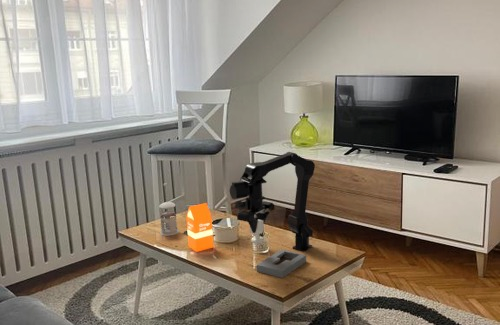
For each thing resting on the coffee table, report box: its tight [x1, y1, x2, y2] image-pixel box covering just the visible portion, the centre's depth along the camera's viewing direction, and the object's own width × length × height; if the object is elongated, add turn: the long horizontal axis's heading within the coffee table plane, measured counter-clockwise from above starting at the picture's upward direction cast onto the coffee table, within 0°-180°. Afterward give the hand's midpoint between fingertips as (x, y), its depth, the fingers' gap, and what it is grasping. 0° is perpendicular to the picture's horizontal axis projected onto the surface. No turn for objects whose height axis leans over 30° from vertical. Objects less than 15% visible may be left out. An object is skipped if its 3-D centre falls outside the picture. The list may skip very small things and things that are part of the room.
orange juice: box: [186, 202, 214, 253], centre depth 230 cm, size 8×9×20 cm
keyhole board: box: [256, 249, 307, 279], centre depth 207 cm, size 18×12×3 cm, turn 143°
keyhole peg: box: [249, 219, 265, 245], centre depth 212 cm, size 5×5×9 cm
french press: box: [158, 182, 180, 237], centre depth 251 cm, size 10×12×25 cm
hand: (257, 231), depth 212 cm, fingers closed on keyhole peg, 4 cm apart
